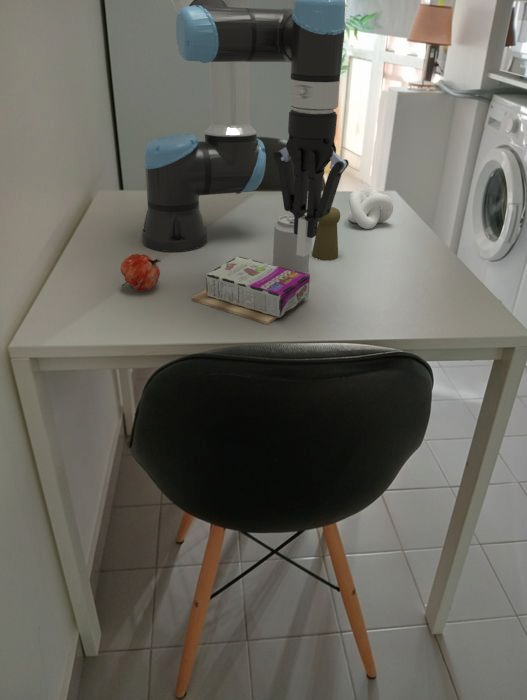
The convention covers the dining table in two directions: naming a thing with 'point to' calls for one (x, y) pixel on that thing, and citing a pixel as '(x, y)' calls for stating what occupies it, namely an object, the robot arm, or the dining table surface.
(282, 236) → the can
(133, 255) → the pomegranate
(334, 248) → the pepper shaker
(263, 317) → the wooden board
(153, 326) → the dining table surface
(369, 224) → the white knot sculpture
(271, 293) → the candy bar box
